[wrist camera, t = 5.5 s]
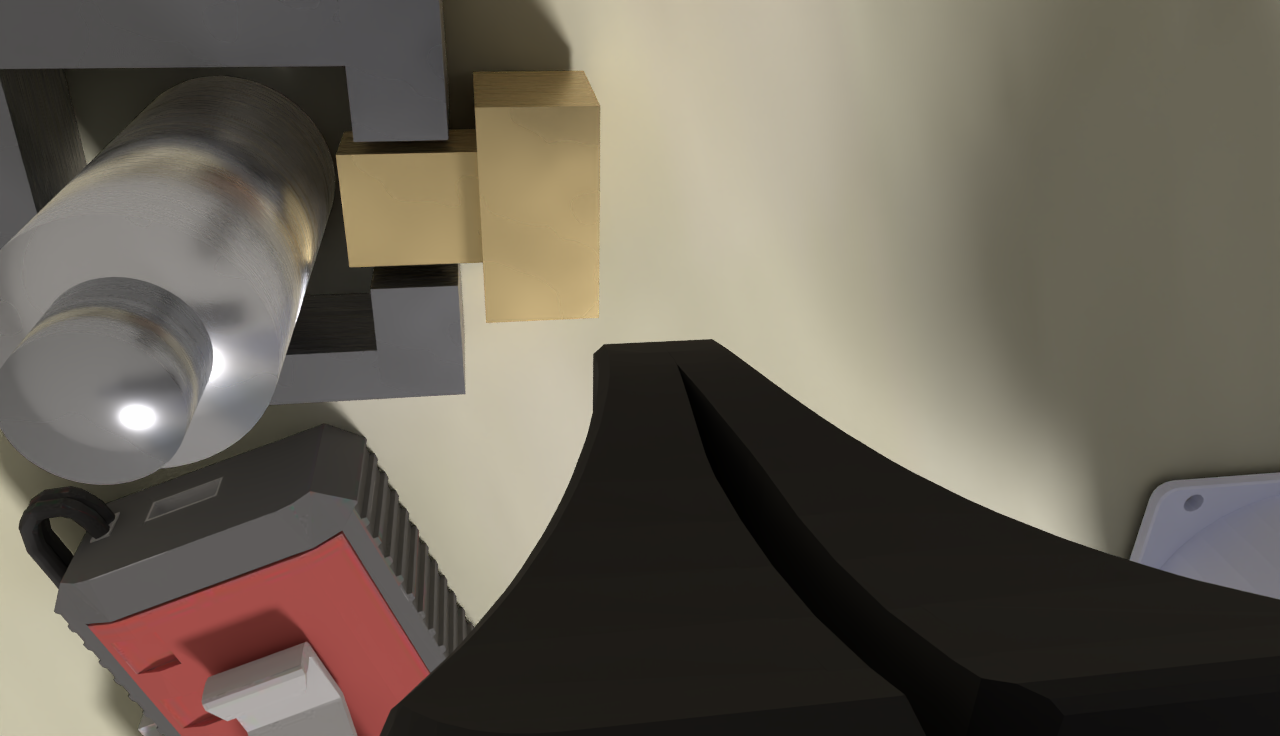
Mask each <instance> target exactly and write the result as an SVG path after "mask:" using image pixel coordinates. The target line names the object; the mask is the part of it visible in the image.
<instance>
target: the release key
mask: <svg viewBox="0 0 1280 736" xmlns="http://www.w3.org/2000/svg"><path fill="white" fill-rule="evenodd" d="M473 84H474V103H475V122H476V129H451V130H449V133H448V140H427V141H375V142H354V140H353V131H344V133H343V136H342V139H341V142H340V145H339V147H338V150H337V153H336V160H337V169H338V177H339V185H340V193H341V201H342V210H343V218H344V226H345V234H346V242H347V251H348V259H349V267H372V266H399V265H426V264H452V263H479V262H483V272H484V290H485V308H486V323H493V322H515V321H536V320H558V319H580V318H599V210H600V104H599V102H598V100H597V98H596V96H595V94H594V92H593V90H592V88H591V85H590V83H589V81H588V79H587V77H586V75H585V73H584V71H511V72H473Z"/></svg>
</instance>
